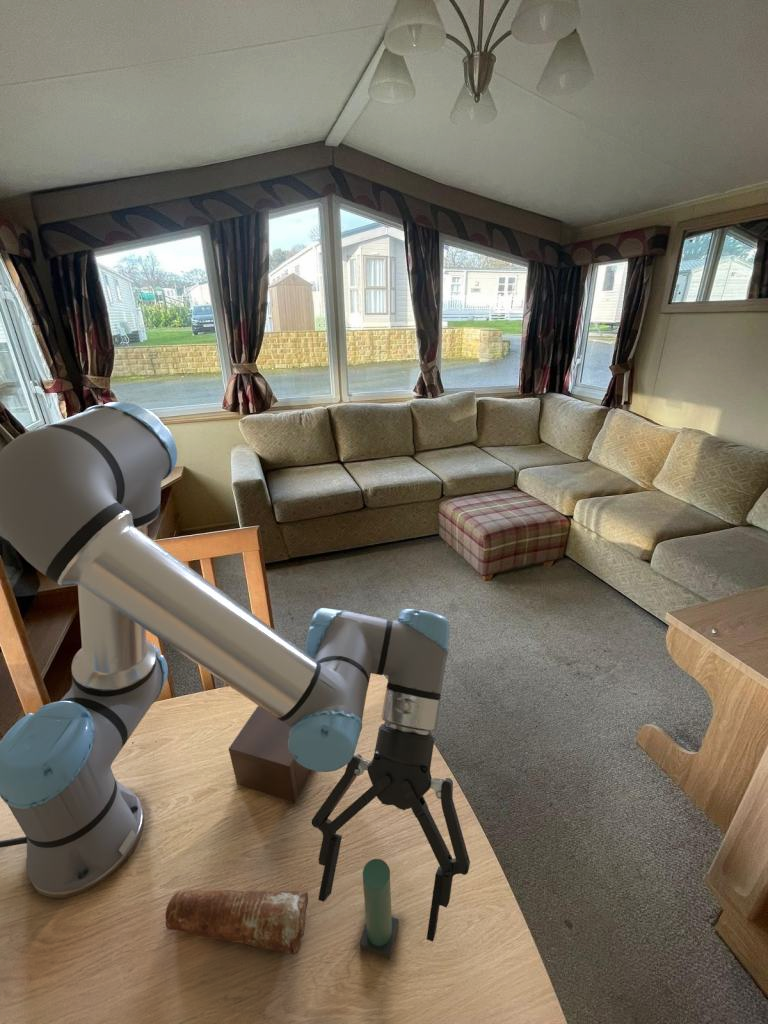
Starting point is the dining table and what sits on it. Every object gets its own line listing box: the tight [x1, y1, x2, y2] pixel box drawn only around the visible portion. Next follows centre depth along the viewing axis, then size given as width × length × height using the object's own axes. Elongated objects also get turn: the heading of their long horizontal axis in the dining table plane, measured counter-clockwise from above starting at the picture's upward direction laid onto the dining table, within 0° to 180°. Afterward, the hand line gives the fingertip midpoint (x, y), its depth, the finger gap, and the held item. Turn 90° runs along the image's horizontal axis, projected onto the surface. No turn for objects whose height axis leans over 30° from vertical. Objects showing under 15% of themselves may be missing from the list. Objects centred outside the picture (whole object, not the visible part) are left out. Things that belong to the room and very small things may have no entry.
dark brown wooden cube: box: [228, 705, 313, 804], centre depth 82 cm, size 11×9×9 cm
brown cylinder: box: [165, 889, 309, 955], centre depth 63 cm, size 6×19×6 cm, turn 81°
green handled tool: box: [359, 858, 400, 960], centre depth 59 cm, size 4×4×14 cm
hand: (376, 915), depth 58 cm, fingers open, 13 cm apart
